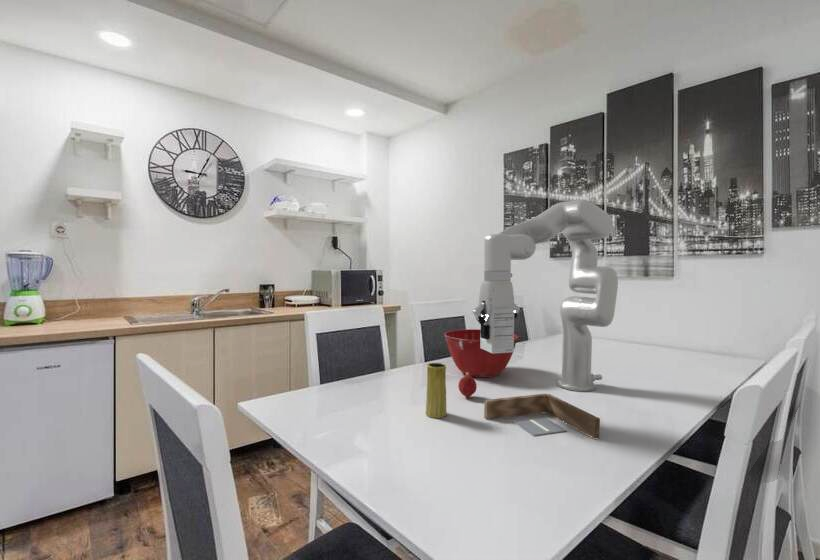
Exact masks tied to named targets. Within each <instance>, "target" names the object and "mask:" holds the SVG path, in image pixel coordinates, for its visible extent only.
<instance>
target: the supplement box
mask: <svg viewBox="0 0 820 560" xmlns="http://www.w3.org/2000/svg"><path fill="white" fill-rule="evenodd" d="M484 310H485V314H487V311H486V309H484ZM482 313H483V312H482ZM481 316H482V315H481ZM485 319H486V317H485ZM488 325H489V326H490V338H489V339H484V338H481V336H480V348H481V349H484V350H486V351H488V352H490V353H492V354H495V353H510V352H513V353H514V352H515V348H514V334H515V322H514V309H511V308H503V309H492V310H491V316H490V317H489V323H488Z"/></svg>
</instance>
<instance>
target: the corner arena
mask: <svg viewBox="0 0 820 560" xmlns="http://www.w3.org/2000/svg"><path fill="white" fill-rule="evenodd" d="M483 407H484V408H483V409H484V411H483V412H484V413H483V416H484V417H483V418H484V419H485V420H493V419H502V418H511V417H518V416H526V415H527V416H528V415H534V414H535V415H536V413H537V414H543V413H542V412H545V413H547V414H549V415H550V416H552V417H554V418H556V419H557V418H558V420H559V421H561V422H563V421H564V422H563V423H564V424H566V423H567V425H568V424H569V426H570V425H571V426H570V427H572V426H573V427H572V428H574V427H575V428H577V429H578V430H577V429H576V430H577V431H579V430H580V431H579V432H581V431H582V432H584V433H586V434H588V435H590V436H592V437H593V438H599V439H600V437H601V436H600V429H601V427H600V426H601V418H600V417H598V416H596V415H593V414H591V413H589V412H587V411H585V410H583V409H581V408H579V407H577V406H575V405H573V404H571V403H570V402H567V401H564V400H563V399H561V398H559V397H557V396H554V395H552V394H550V393H540V394H538V393H537V394H529V395H519V396H510V397H502V398H493V399H492V398H490V399H484V406H483ZM575 428H574V429H575ZM582 432H581V433H582ZM584 433H583V434H584ZM586 434H585V435H586ZM588 435H587V436H588ZM590 436H589V437H590ZM593 438H592V439H593Z"/></svg>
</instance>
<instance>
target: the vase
mask: <svg viewBox="0 0 820 560" xmlns="http://www.w3.org/2000/svg"><path fill="white" fill-rule="evenodd" d="M426 366H427V372H426V373H427V374H426V401H425V405H426V406H425V416H427V417H428V418H431V419H441V418H445V417H447V414H448V412H447V386H446V385H447V384H446V381H447V380H446V379H447V377H446V375H447V374H446V372H447V371H446V369H447V365H446V364H445V363H441V362H430V363H428V364H427V365H426Z"/></svg>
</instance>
